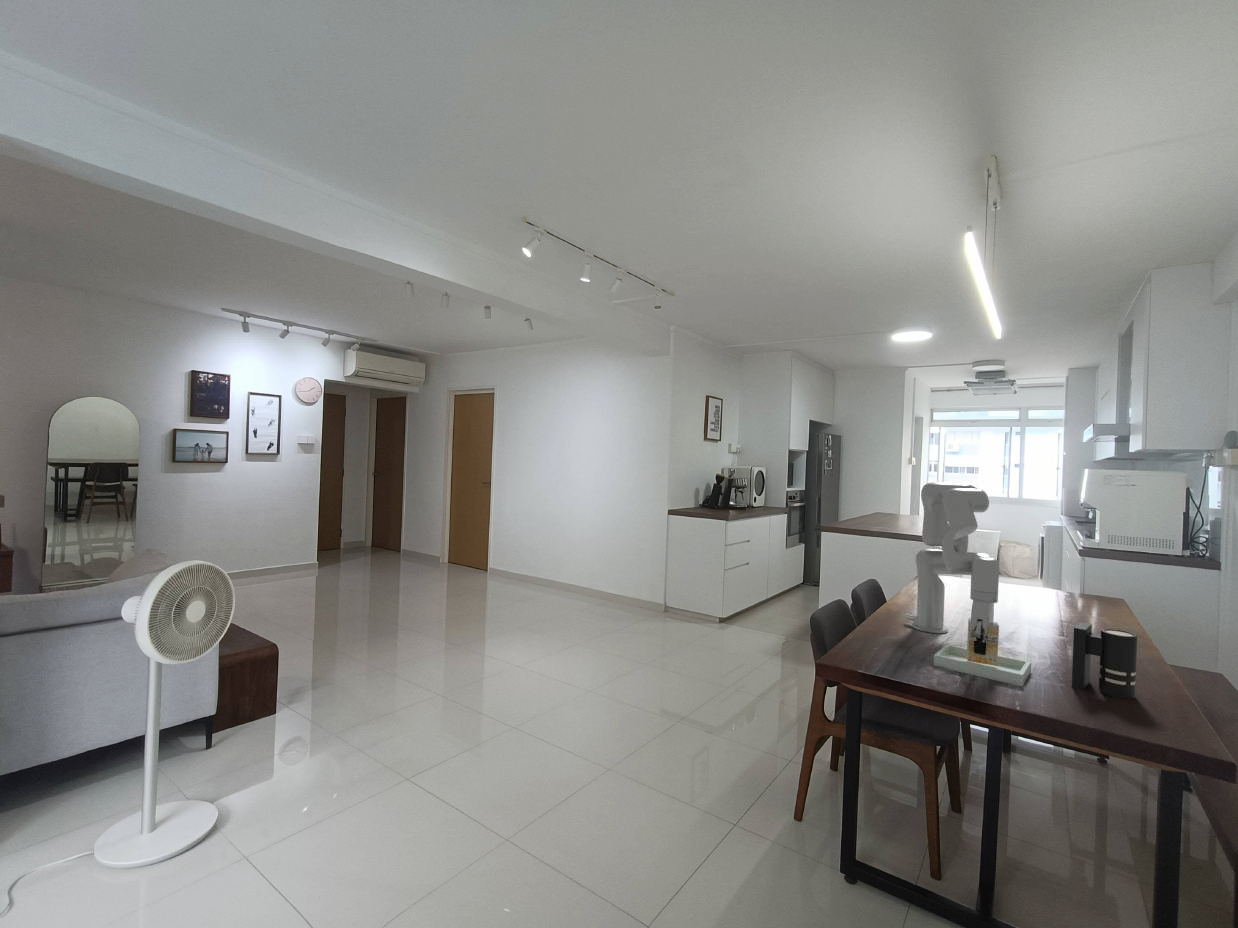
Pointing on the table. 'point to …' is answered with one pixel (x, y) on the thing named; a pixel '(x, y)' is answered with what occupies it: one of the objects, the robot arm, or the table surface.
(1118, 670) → the outdoor wall sconce
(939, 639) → the table surface
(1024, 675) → the tray
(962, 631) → the table surface
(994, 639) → the supplement box
